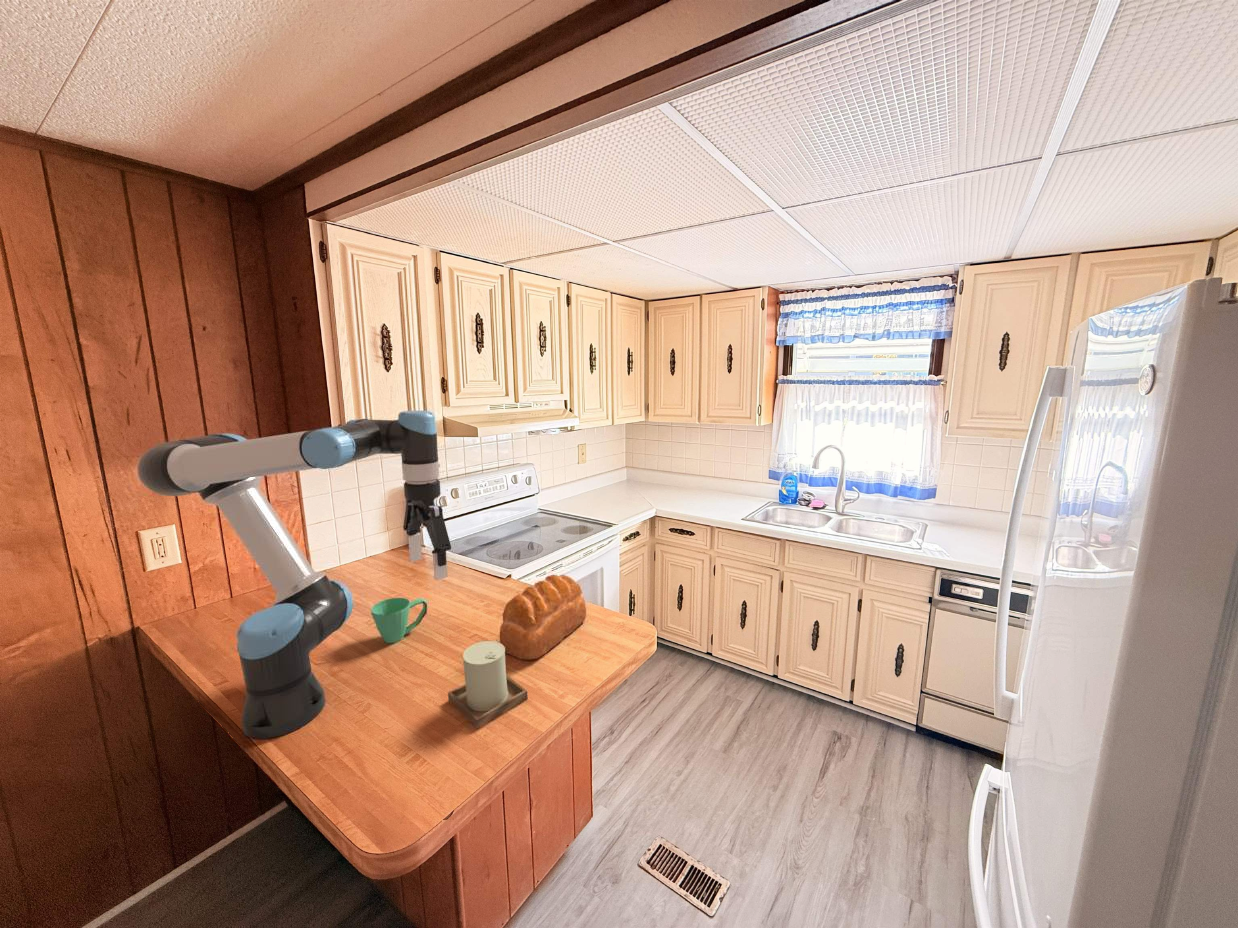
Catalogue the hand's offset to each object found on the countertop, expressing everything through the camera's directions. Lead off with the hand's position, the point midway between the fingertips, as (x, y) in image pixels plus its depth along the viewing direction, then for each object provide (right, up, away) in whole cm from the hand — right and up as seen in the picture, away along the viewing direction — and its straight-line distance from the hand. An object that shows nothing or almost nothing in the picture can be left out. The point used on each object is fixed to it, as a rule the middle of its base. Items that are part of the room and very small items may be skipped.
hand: (428, 569), depth 112 cm
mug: (-17, -25, +25) cm, 39 cm away
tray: (+15, -29, -2) cm, 33 cm away
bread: (+24, -24, +25) cm, 42 cm away
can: (+15, -29, -2) cm, 32 cm away
